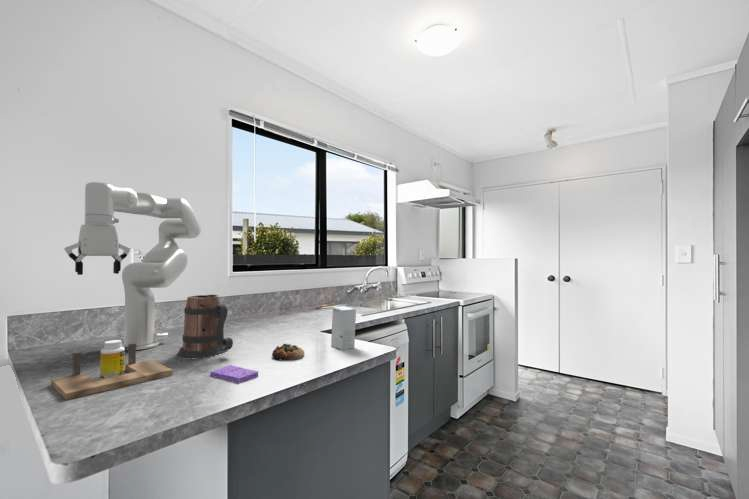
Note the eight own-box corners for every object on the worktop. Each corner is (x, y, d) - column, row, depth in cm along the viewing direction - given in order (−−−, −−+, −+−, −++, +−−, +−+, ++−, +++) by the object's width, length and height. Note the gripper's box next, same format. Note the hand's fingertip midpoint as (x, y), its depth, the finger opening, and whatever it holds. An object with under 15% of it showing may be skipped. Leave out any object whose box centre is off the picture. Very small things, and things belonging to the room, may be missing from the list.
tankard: (165, 354, 129) (166, 296, 129) (209, 344, 143) (209, 292, 143) (207, 364, 116) (207, 301, 117) (250, 352, 131) (250, 296, 131)
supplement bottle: (122, 379, 102) (123, 342, 102) (97, 382, 100) (98, 344, 100) (125, 373, 107) (126, 338, 107) (102, 376, 105) (103, 340, 105)
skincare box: (330, 345, 141) (331, 306, 141) (344, 343, 144) (344, 305, 145) (342, 350, 134) (342, 309, 134) (356, 348, 138) (356, 308, 138)
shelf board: (149, 363, 117) (150, 340, 117) (172, 374, 106) (172, 348, 106) (50, 384, 98) (50, 355, 98) (65, 399, 88) (66, 368, 88)
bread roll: (264, 358, 123) (266, 343, 124) (284, 355, 133) (286, 340, 134) (292, 363, 119) (294, 348, 119) (310, 359, 129) (312, 345, 130)
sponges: (238, 384, 100) (238, 377, 100) (209, 377, 106) (209, 370, 106) (259, 377, 106) (259, 370, 106) (230, 370, 112) (230, 364, 112)
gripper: (126, 223, 128) (125, 272, 128) (62, 219, 115) (61, 274, 115) (133, 222, 124) (133, 273, 123) (68, 218, 110) (67, 275, 110)
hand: (98, 274), depth 119 cm, fingers open, 9 cm apart
